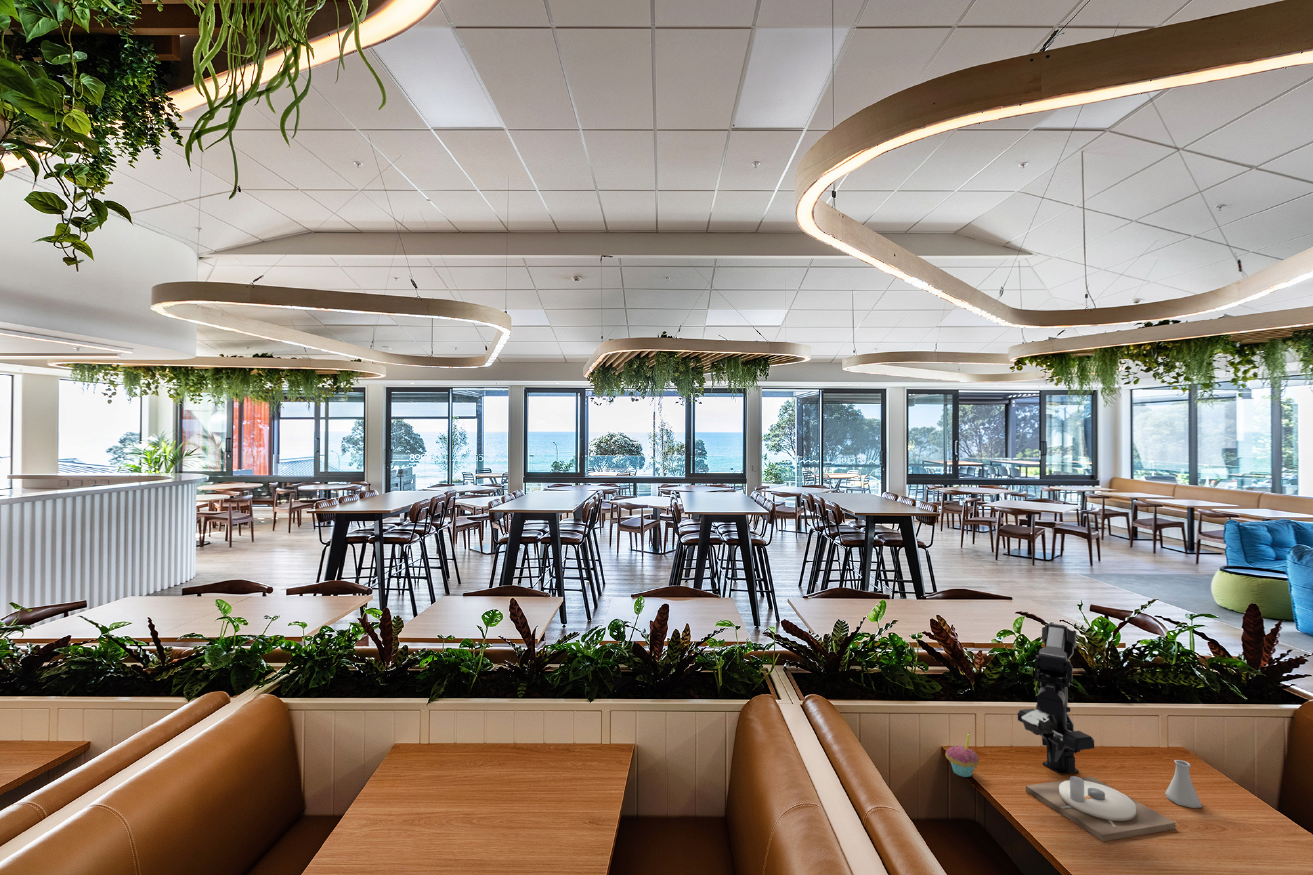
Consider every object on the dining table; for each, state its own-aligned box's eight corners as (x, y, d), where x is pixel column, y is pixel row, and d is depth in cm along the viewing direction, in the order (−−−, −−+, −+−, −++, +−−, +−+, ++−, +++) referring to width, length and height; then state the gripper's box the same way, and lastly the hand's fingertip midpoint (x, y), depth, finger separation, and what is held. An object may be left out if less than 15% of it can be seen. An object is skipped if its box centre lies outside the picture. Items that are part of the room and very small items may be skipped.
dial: (1092, 782, 164) (1092, 758, 164) (1152, 816, 149) (1152, 789, 149) (1044, 789, 161) (1043, 764, 161) (1100, 824, 145) (1100, 797, 145)
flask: (1209, 810, 154) (1207, 771, 154) (1176, 807, 156) (1175, 768, 156) (1190, 795, 161) (1189, 757, 162) (1159, 792, 163) (1158, 754, 163)
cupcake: (976, 768, 175) (975, 726, 175) (981, 783, 167) (981, 739, 167) (943, 763, 178) (943, 722, 178) (947, 777, 170) (947, 734, 170)
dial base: (1025, 791, 163) (1025, 784, 163) (1091, 781, 168) (1091, 775, 168) (1102, 841, 141) (1102, 834, 141) (1175, 828, 146) (1175, 821, 146)
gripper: (1000, 690, 168) (1001, 747, 167) (1059, 719, 150) (1060, 782, 149) (1033, 687, 170) (1034, 743, 170) (1095, 714, 152) (1096, 777, 152)
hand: (1054, 760), depth 160 cm, fingers closed
